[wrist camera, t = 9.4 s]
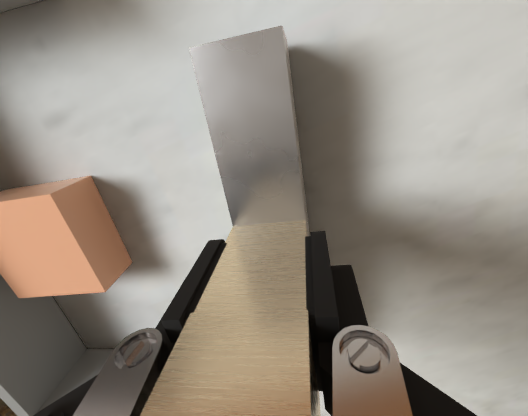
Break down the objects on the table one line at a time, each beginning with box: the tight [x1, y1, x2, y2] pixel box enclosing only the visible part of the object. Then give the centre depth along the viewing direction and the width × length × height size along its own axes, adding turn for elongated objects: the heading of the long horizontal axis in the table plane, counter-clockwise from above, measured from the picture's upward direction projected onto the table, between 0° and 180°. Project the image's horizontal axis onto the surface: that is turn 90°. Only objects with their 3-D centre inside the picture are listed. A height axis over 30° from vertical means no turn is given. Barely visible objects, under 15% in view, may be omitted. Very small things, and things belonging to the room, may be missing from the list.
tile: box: [0, 176, 132, 298], centre depth 15 cm, size 6×6×3 cm
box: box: [0, 0, 114, 416], centre depth 14 cm, size 11×24×5 cm, turn 9°
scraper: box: [140, 26, 320, 416], centre depth 9 cm, size 3×16×10 cm, turn 10°
